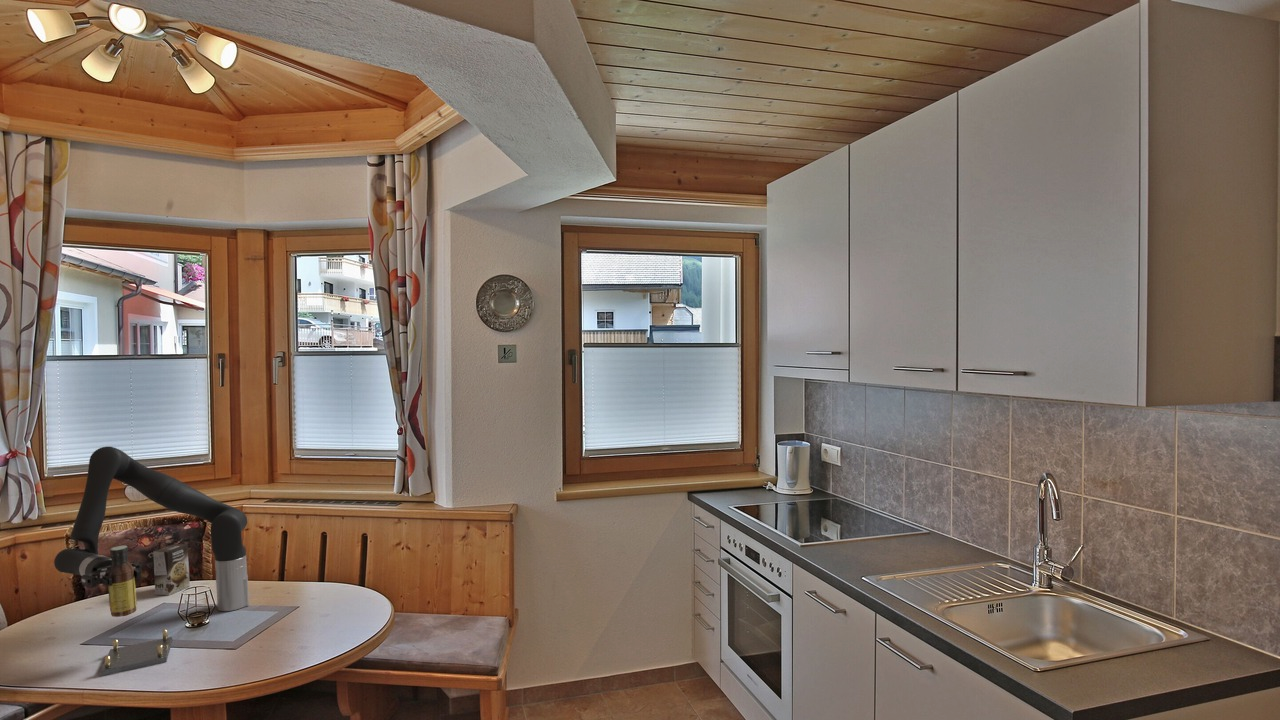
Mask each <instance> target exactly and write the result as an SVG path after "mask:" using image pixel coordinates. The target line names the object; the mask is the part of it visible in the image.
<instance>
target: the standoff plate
mask: <svg viewBox="0 0 1280 720" xmlns="http://www.w3.org/2000/svg"><path fill="white" fill-rule="evenodd" d="M171 643H173V637H172V636H169V637H168V629H167V628H166V629H162V638H159V639H155V640H150V641H144V642H140V643H134V644H130V645H125V646H122V647H119V640H118V638H117V639H116V638H115V639H113V640H112V648H111V649H110V650H109V651H108V654H107V655H105V656H104V662H103V665H102V666H101V668H100V671H99V672H100V673H99V675H100V676H99V677H103V676H107V675H113V674H116V673H117V674H118V673H121V672H122V673H123V672H125V671H130V670H131V671H132V670H135V669H139V668H144V667H148V666H154V665H157V664H163V663H167V661H168V658H169V655H170V650H171V647H172V644H171Z"/></svg>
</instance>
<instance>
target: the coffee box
mask: <svg viewBox="0 0 1280 720" xmlns="http://www.w3.org/2000/svg"><path fill="white" fill-rule="evenodd" d="M188 547H189V546H188V544H185V543H180V544H179V543H178V544H177V543H173V544H171V545H168V546H165V547H163V548H159V549H156V550H153V552H152V553H153V570H154V571H153V574H154V591H155V592H154V594H155V595H158V596H171V595H173V594H175V593H177V592H180V591H182V590H184V589H187V588H189V587H191V584H190V566H189V565H190V564H189V563H190V562H189V549H188ZM188 586H189V587H188ZM186 587H187V588H186Z"/></svg>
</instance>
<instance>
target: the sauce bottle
mask: <svg viewBox="0 0 1280 720" xmlns="http://www.w3.org/2000/svg"><path fill="white" fill-rule="evenodd" d="M109 551H110V555H111V557H110V558H112V562H111V563H112V565H111V567H110V571H109V574H108V577H110V578H112V586H107V587H108V588H107V589H108V599H109V600H108V602H109V611H110V615H111V616H112V617H115V618H120V617H127V616H129V615H131V614H133V613H135V612H136V611H137V605H138V602H137V601H138V600H137V590H136V589H137V588H136V578H135V576H134V569H133V567H132V565H131V563H130V562H129V558H128V552H129V549H128V546H127V545H118V546H114V547H111V548H110V549H109Z"/></svg>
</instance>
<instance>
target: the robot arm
mask: <svg viewBox="0 0 1280 720" xmlns="http://www.w3.org/2000/svg"><path fill="white" fill-rule="evenodd" d="M87 468H88V469H87V479H86V483H85V487H84V492H83V495H82V500H81V502H80V503H81V504H80V506H79V510H78V512H77V514H76V518H75V521H74V524H73V528H72V530H71V532H70V538H71V539H72V540H74V541H77V542H80V543H82V544H83V547H84V548H83V549H82V548H65V549H62V550H60V551H59V552H58V553H57V554H56V556H55V557H54V560H53V565H54V568H55V570H57V571H58V572H60V573H65V574H73V575H77V576H80V577H81V585H82V586H86V587H91V588H95V587H97V585H99V586H107V587H108V586H112V578H110V577H108V574H109V571H110V567H111V565H112V563H111V562H112V558H111V557H109V556H105V555H101V554H99V538H100V537H99V535H100V531H101V529H102V525H103V524H104V520H105V516H106V510H107V503H108V502H107V501H108V495H109V491H110V486H111V484H112V482H113V480H116V481H119V482H121V483H123V484H126V485H128V486H130V487H132V488H134V489H135V490H136V491H137V492H139V493H141V494H142V495H143V496H144V497H146V498H148V499H149V500H150V501H152V502H153V503H156V504H157V505H160V506H162V507H164V508H166V509H168V510H170V511H173V512H177V513H180V514H185V515H190V516H194V517H198V518H201V519H203V520H204V521H207V522H209V523H210V539H211V540H210V541H211V550H212V553H213V555H214V566H215V567H214V569H215V585H216V601H217V602H216V603H217V610H218V611H220V612H230V611H237V610H239V609H243V608H245V607H248V606H249V603H250V601H249V599H250V597H249V581H248V580H249V579H248V578H249V576H248V567H247V566H248V565H247V548H246V546H245V545H243V537H242V531H244V530H245V529H246V528H247V525H248V518H247V515H246V514H245V512H244V511H242V510H241V509H239V508H237V507H234V506H233V505H229V504H226V503H224V502H222V501H218V500H216V499H214V498H212V497H210V496H208V495H207V494H205V493H203V492H201V491H199V490H198V489H196V488H193V487H192V486H190V485H188V484H187V483H185V482H183V481H181V480H179V479H177V478H175V477H174V476H170V475H169V474H166V473H163V472H160V471H157V470H155V469H152V468H149V467H147V466H146V465H144V464H142V463H140V462H139V461H137V460H135V459H134V458H132V456H129V455H128V454H127V453H126V452H124V451H123V450H121V449H119V448H117V447H113V446H103V447H100V448H97V449H95V451H93V452H92V454H91V455H90V457H89V461H88V467H87ZM130 564H131V565H132V567H133V569H134V576H135V579H139V578H140V577H141V576H142V574H143V571H142V564H141V563H139V562H137V561H131V563H130Z"/></svg>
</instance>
